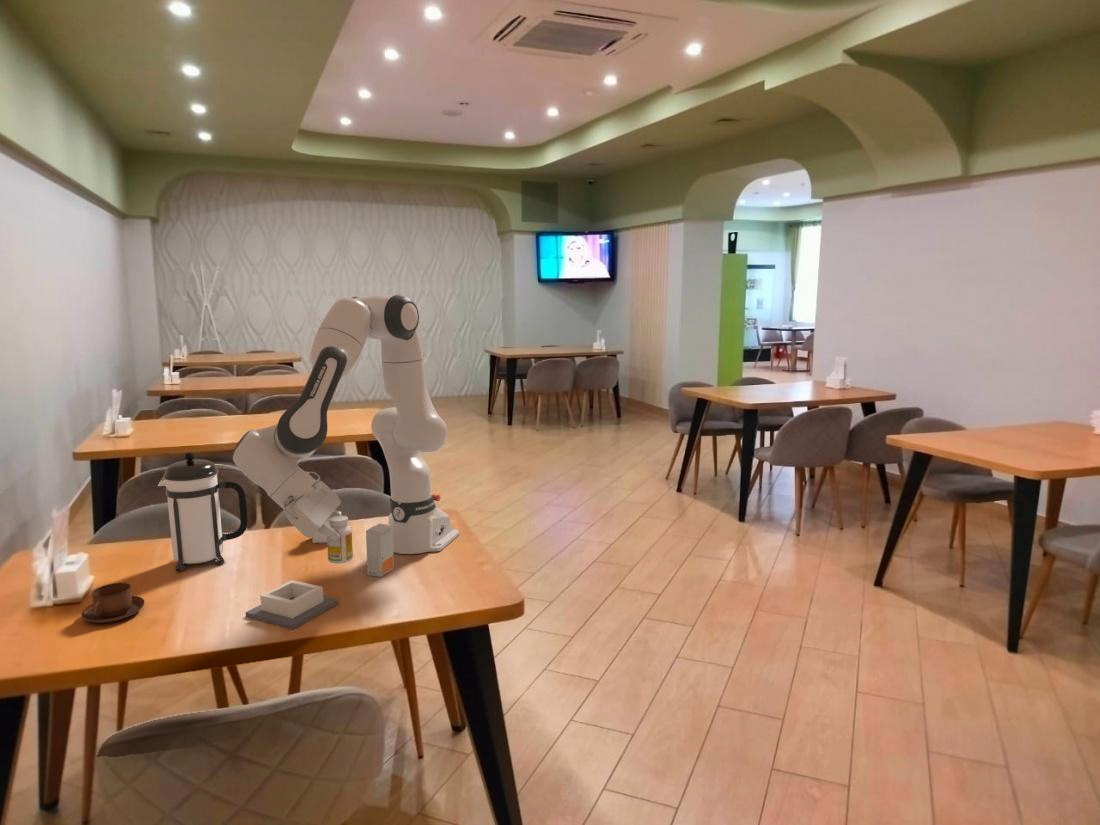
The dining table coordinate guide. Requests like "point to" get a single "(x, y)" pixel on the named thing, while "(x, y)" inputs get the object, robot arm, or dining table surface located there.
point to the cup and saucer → (112, 603)
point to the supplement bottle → (340, 541)
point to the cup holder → (291, 604)
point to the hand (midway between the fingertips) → (342, 533)
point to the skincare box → (379, 550)
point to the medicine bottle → (318, 536)
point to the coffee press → (198, 511)
